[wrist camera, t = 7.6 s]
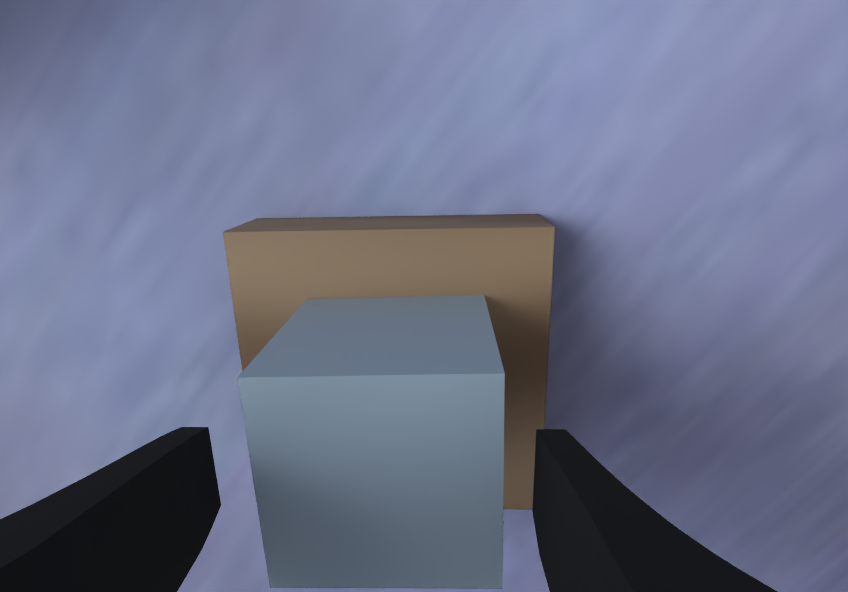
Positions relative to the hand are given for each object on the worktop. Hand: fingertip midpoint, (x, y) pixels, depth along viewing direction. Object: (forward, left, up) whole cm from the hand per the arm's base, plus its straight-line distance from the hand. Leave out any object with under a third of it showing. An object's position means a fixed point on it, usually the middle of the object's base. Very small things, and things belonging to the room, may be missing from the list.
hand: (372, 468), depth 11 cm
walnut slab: (0, 0, -7) cm, 7 cm away
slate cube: (0, 0, -4) cm, 4 cm away
